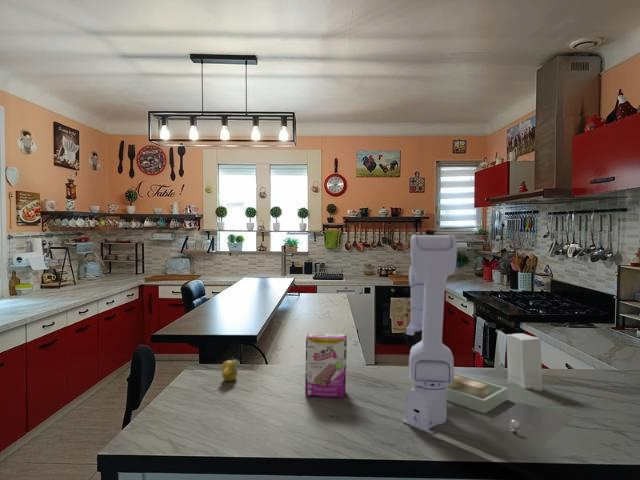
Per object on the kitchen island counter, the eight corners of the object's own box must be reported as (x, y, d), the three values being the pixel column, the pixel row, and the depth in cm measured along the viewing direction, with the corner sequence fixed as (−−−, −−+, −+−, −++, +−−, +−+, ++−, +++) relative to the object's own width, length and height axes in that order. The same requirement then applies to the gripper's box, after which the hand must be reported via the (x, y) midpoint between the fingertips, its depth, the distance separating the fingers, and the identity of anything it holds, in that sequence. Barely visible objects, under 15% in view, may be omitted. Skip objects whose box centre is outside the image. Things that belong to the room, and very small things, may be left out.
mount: (542, 449, 81) (542, 431, 81) (485, 427, 90) (485, 412, 90) (572, 422, 93) (572, 407, 93) (519, 406, 102) (519, 392, 102)
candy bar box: (304, 397, 107) (305, 336, 107) (307, 390, 112) (307, 332, 112) (346, 399, 106) (346, 338, 106) (346, 391, 111) (347, 333, 111)
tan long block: (438, 390, 110) (439, 375, 110) (447, 387, 112) (447, 372, 112) (480, 404, 101) (480, 388, 101) (488, 400, 103) (488, 384, 103)
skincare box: (543, 391, 112) (543, 339, 112) (523, 392, 111) (523, 339, 111) (523, 381, 120) (524, 332, 120) (505, 381, 120) (505, 332, 119)
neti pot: (216, 389, 112) (216, 366, 112) (228, 372, 127) (228, 351, 127) (232, 389, 112) (232, 366, 112) (241, 372, 127) (241, 351, 127)
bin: (484, 417, 96) (484, 400, 96) (419, 394, 110) (419, 379, 110) (507, 403, 104) (507, 388, 104) (444, 383, 118) (444, 370, 118)
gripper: (423, 313, 106) (423, 364, 106) (443, 306, 118) (443, 352, 118) (399, 310, 111) (399, 359, 111) (421, 303, 122) (420, 348, 122)
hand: (420, 355), depth 114 cm, fingers open, 7 cm apart
